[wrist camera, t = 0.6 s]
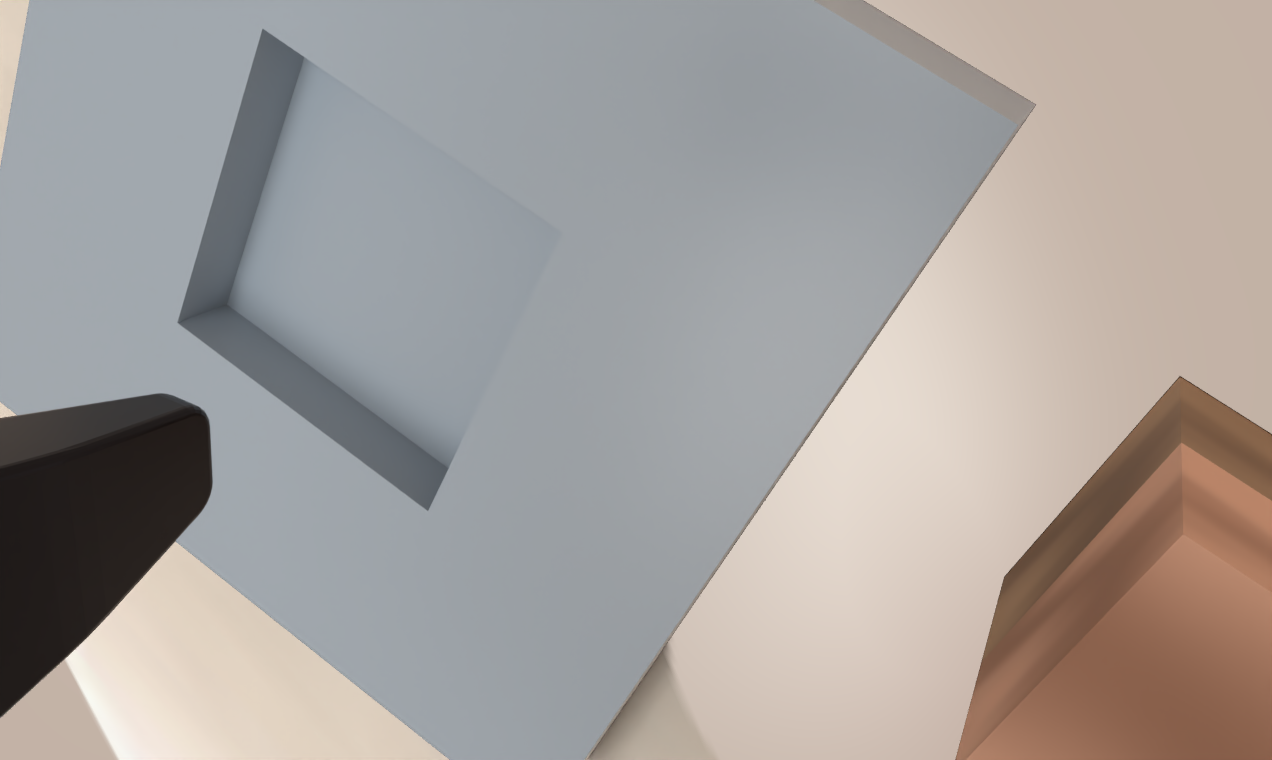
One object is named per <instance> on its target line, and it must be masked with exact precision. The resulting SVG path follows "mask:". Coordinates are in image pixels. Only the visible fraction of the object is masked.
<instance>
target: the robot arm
mask: <svg viewBox="0 0 1272 760" xmlns="http://www.w3.org/2000/svg"><path fill="white" fill-rule="evenodd" d="M212 487H213V475H212V454H211V433H210V422H209V418H208V416H207V414H206V413H205V411H204V410H203V409H201V408H200V407H199V406H197V405H194V404H192V403H190V402H187V401H185V400H183V399H180V398H178V397H175V396H173V395H169V394H165V393H157V394H150V395H143V396H137V397H131V398H124V399H118V400H112V401H105V402H99V403H93V404H86V405H80V406H74V407H67V408H61V409H55V410H48V411H42V412H36V413H29V414H23V415H17V416H11V417H4V418H0V718H1V717H2V716H3V715H4V714H5V713H6V712H8V711H9V710H10V709H11V708H12V707H13V706H14V705H15V704H16V703H17V702H19V701H20V700H21V699H22V698H23V697H24V696H25V695H26V694H27V693H28V692H29V691H30V690H31V689H33V688H34V687H35V686H36V685H37V684H38V683H39V682H40V681H41V680H42V679H44V678H45V677H46V676H47V675H48V674H49V673H50V672H51V671H52V670H53V669H54V668H56V667H57V666H58V665H59V664H60V663H61V662H62V661H63V660H64V659H65V658H67V657H68V656H69V655H70V654H71V653H72V652H73V651H74V650H75V649H76V648H77V647H78V646H79V645H80V644H81V643H82V642H83V641H84V640H85V639H86V638H87V637H88V636H89V635H90V634H91V633H92V632H93V631H94V630H95V629H96V628H97V627H98V626H99V625H100V624H101V623H102V622H103V620H104V619H105V618H106V617H107V616H108V615H109V614H110V613H111V612H112V611H113V610H114V609H115V607H116V606H117V605H118V604H119V603H120V602H121V601H122V600H123V599H124V597H125V596H126V595H127V594H128V593H129V592H130V591H131V590H132V589H133V587H134V586H135V585H136V584H137V583H138V582H139V581H140V580H141V579H142V578H143V576H144V575H145V574H146V573H147V572H148V571H149V570H150V569H151V568H152V566H153V565H154V564H155V563H156V562H157V561H158V560H159V559H160V558H161V556H162V555H163V554H164V553H165V552H166V551H167V550H168V549H169V548H170V546H171V545H172V544H173V543H174V542H175V541H176V540H177V539H178V538H179V536H180V535H181V534H182V533H183V532H184V531H185V530H186V529H187V528H188V527H189V525H190V524H191V523H192V522H193V521H194V520H195V519H196V518H197V517H198V515H199V514H200V513H201V512H202V510H203V509H204V507H205V506H206V504H207V502H208V500H209V498H210V495H211V491H212Z"/></svg>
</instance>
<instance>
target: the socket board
mask: <svg viewBox="0 0 1272 760" xmlns="http://www.w3.org/2000/svg"><path fill="white" fill-rule="evenodd" d="M1035 106H1036V104H1034V103H1032V102H1031V101H1029V100H1027V99H1026V98H1024V97H1022V96H1021V95H1019V94H1017V93H1016V92H1014V91H1013V90H1011V89H1009V88H1008V87H1006V86H1004V85H1003V84H1001V83H999V82H998V81H996V80H994V79H993V78H991V77H989V76H988V75H986V74H984V73H983V72H981V71H979V70H978V69H976V68H974V67H973V66H971V65H970V64H968V63H966V62H965V61H963V60H961V59H959V58H958V57H956V56H955V55H953V54H951V53H950V52H948V51H946V50H945V49H943V48H941V47H940V46H938V45H936V44H935V43H933V42H931V41H930V40H928V39H926V38H925V37H923V36H921V35H920V34H918V33H916V32H915V31H913V30H911V29H910V28H908V27H907V26H905V25H903V24H901V23H900V22H898V21H897V20H895V19H893V18H892V17H890V16H888V15H886V14H885V13H883V12H882V11H880V10H878V9H877V8H875V7H873V6H872V5H870V4H868V3H867V2H865V1H863V0H30V1H29V6H28V12H27V18H26V23H25V29H24V35H23V41H22V46H21V52H20V58H19V63H18V69H17V75H16V80H15V86H14V92H13V98H12V103H11V109H10V115H9V120H8V126H7V132H6V137H5V143H4V149H3V155H2V160H1V166H0V402H1V403H2V404H4V405H5V406H6V407H7V408H9V409H10V410H11V411H13V412H14V413H15V414H16V415H23V414H29V413H36V412H42V411H48V410H55V409H61V408H67V407H74V406H80V405H86V404H93V403H99V402H105V401H112V400H118V399H124V398H131V397H137V396H143V395H150V394H157V393H165V394H169V395H173V396H175V397H178V398H180V399H183V400H185V401H187V402H190V403H192V404H194V405H197V406H199V407H200V408H201V409H203V410H204V411H205V413H206V414H207V416H208V418H209V422H210V433H211V454H212V475H213V487H212V491H211V495H210V498H209V500H208V502H207V504H206V506H205V507H204V509H203V510H202V512H201V513H200V514H199V515H198V517H197V518H196V519H195V520H194V521H193V522H192V523H191V524H190V525H189V527H188V528H187V529H186V530H185V531H184V532H183V533H182V534H181V535H180V536H179V538H178V539H177V540H176V542H177V543H178V544H179V545H181V546H182V547H183V548H184V549H186V550H187V551H188V552H189V553H191V554H192V555H193V556H195V557H196V558H197V559H198V560H200V561H201V562H202V563H203V564H205V565H206V566H207V567H208V568H210V569H211V570H212V571H213V572H215V573H216V574H217V575H218V576H220V577H221V578H222V579H223V580H225V581H226V582H227V583H228V584H230V585H231V586H232V587H233V588H235V589H236V590H237V591H238V592H240V593H241V594H242V595H243V596H245V597H246V598H247V599H248V600H250V601H251V602H252V603H254V604H255V605H256V606H257V607H259V608H260V609H261V610H262V611H264V612H265V613H266V614H267V615H269V616H270V617H271V618H272V619H274V620H275V621H276V622H277V623H279V624H280V625H281V626H282V627H284V628H285V629H286V630H287V631H289V632H290V633H291V634H292V635H294V636H295V637H296V638H297V639H299V640H300V641H301V642H302V643H304V644H305V645H306V646H307V647H309V648H310V649H311V650H313V651H314V652H315V653H316V654H318V655H319V656H320V657H321V658H323V659H324V660H325V661H326V662H328V663H329V664H330V665H331V666H333V667H334V668H335V669H336V670H338V671H339V672H340V673H341V674H343V675H344V676H345V677H346V678H348V679H349V680H350V681H351V682H353V683H354V684H355V685H356V686H358V687H359V688H360V689H361V690H363V691H364V692H365V693H366V694H368V695H369V696H370V697H372V698H373V699H374V700H375V701H377V702H378V703H379V704H380V705H382V706H383V707H384V708H385V709H387V710H388V711H389V712H390V713H392V714H393V715H394V716H395V717H397V718H398V719H399V720H400V721H402V722H403V723H404V724H405V725H407V726H408V727H409V728H410V729H412V730H413V731H414V732H415V733H417V734H418V735H419V736H420V737H422V738H423V739H424V740H425V741H427V742H428V743H429V744H431V745H432V746H433V747H434V748H436V749H437V750H438V751H439V752H441V753H442V754H443V755H444V756H446V757H447V758H448V759H449V760H587V759H588V758H589V756H590V755H591V753H592V752H593V750H594V749H595V748H596V746H597V745H598V743H599V742H600V740H601V739H602V737H603V736H604V734H605V733H606V732H607V730H608V729H609V727H610V726H611V724H612V723H613V721H614V720H615V718H616V717H617V715H618V714H619V713H620V711H621V710H622V708H623V707H624V705H625V704H626V702H627V701H628V699H629V698H630V696H631V695H632V694H633V692H634V691H635V689H636V688H637V686H638V685H639V683H640V682H641V680H642V679H643V678H644V676H645V675H646V673H647V672H648V670H649V669H650V667H651V666H652V664H653V663H654V661H655V660H656V659H657V657H658V656H659V654H660V653H661V651H662V650H663V648H664V647H665V645H666V644H667V643H668V641H669V640H670V638H671V637H672V635H673V634H674V632H675V631H676V629H677V628H678V626H679V625H680V624H681V622H682V620H683V619H684V618H685V616H686V615H687V613H688V612H689V610H690V609H691V607H692V606H693V605H694V603H695V602H696V600H697V599H698V597H699V595H700V594H701V593H702V591H703V590H704V589H705V587H706V586H707V584H708V583H709V581H710V580H711V578H712V577H713V575H714V574H715V572H716V571H717V570H718V568H719V567H720V565H721V564H722V562H723V561H724V559H725V558H726V556H727V555H728V554H729V552H730V551H731V549H732V548H733V546H734V545H735V543H736V542H737V540H738V539H739V537H740V536H741V535H742V533H743V532H744V530H745V529H746V527H747V526H748V524H749V523H750V521H751V520H752V518H753V517H754V515H755V514H756V513H757V511H758V510H759V508H760V507H761V505H762V504H763V502H764V501H765V500H766V498H767V496H768V495H769V494H770V492H771V491H772V489H773V488H774V486H775V485H776V483H777V482H778V480H779V479H780V477H781V476H782V475H783V473H784V472H785V470H786V469H787V467H788V466H789V465H790V463H791V462H792V460H793V459H794V457H795V456H796V454H797V453H798V451H799V450H800V448H801V447H802V446H803V444H804V443H805V441H806V440H807V438H808V437H809V435H810V434H811V432H812V431H813V429H814V428H815V427H816V425H817V424H818V422H819V421H820V419H821V418H822V416H823V415H824V413H825V412H826V410H827V409H828V408H829V406H830V405H831V403H832V402H833V400H834V399H835V397H836V396H837V394H838V393H839V391H840V390H841V389H842V387H843V386H844V384H845V383H846V381H847V380H848V378H849V377H850V375H851V374H852V372H853V371H854V370H855V368H856V367H857V365H858V364H859V362H860V361H861V359H862V358H863V357H864V355H865V353H866V352H867V350H868V349H869V348H870V346H871V345H872V343H873V342H874V340H875V339H876V337H877V336H878V335H879V333H880V332H881V330H882V329H883V327H884V326H885V324H886V323H887V321H888V320H889V319H890V317H891V315H892V314H893V313H894V311H895V310H896V308H897V307H898V305H899V304H900V302H901V301H902V300H903V298H904V297H905V295H906V294H907V292H908V291H909V289H910V288H911V287H912V285H913V284H914V282H915V281H916V279H917V278H918V276H919V275H920V273H921V272H922V270H923V269H924V268H925V266H926V265H927V263H928V262H929V260H930V259H931V257H932V256H933V254H934V253H935V251H936V250H937V249H938V247H939V245H940V244H941V243H942V241H943V240H944V238H945V237H946V235H947V234H948V232H949V231H950V230H951V228H952V227H953V225H954V224H955V222H956V221H957V219H958V218H959V216H960V215H961V213H962V212H963V211H964V209H965V208H966V206H967V205H968V203H969V202H970V200H971V199H972V197H973V196H974V194H975V193H976V192H977V190H978V189H979V187H980V186H981V184H982V183H983V181H984V180H985V179H986V177H987V175H988V174H989V173H990V171H991V170H992V168H993V167H994V165H995V164H996V162H997V161H998V160H999V158H1000V157H1001V155H1002V154H1003V152H1004V151H1005V149H1006V148H1007V146H1008V145H1009V144H1010V142H1011V141H1012V139H1013V138H1014V136H1015V134H1016V133H1017V132H1018V130H1019V129H1020V127H1021V126H1022V125H1023V123H1024V122H1025V120H1026V119H1027V117H1028V116H1029V114H1030V113H1031V111H1032V110H1033V108H1034V107H1035Z"/></svg>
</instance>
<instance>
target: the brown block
mask: <svg viewBox="0 0 1272 760" xmlns="http://www.w3.org/2000/svg"><path fill="white" fill-rule="evenodd" d="M956 760H1272V434H1271V433H1269V432H1268V431H1266V430H1265V429H1263V428H1262V427H1260V426H1258V425H1257V424H1255V423H1254V422H1252V421H1250V420H1249V419H1247V418H1246V417H1244V416H1243V415H1241V414H1240V413H1238V412H1236V411H1235V410H1233V409H1232V408H1230V407H1228V406H1227V405H1225V404H1224V403H1222V402H1220V401H1219V400H1217V399H1216V398H1214V397H1213V396H1211V395H1209V394H1208V393H1206V392H1205V391H1203V390H1202V389H1200V388H1199V387H1197V386H1195V385H1194V384H1192V383H1191V382H1189V381H1187V380H1186V379H1184V378H1183V377H1181V376H1179V377H1178V379H1177V380H1176V381H1175V382H1174V383H1173V384H1172V386H1171V387H1170V388H1169V389H1168V390H1167V391H1166V392H1165V394H1164V395H1163V396H1162V397H1161V398H1160V399H1159V400H1158V401H1157V403H1156V404H1155V405H1154V406H1153V407H1152V409H1151V410H1150V411H1149V412H1148V413H1147V414H1146V415H1145V416H1144V417H1143V419H1142V420H1141V421H1140V422H1139V423H1138V425H1136V427H1135V428H1134V429H1133V430H1132V431H1131V432H1130V433H1129V435H1128V436H1127V437H1126V438H1125V439H1124V440H1123V441H1122V443H1121V444H1120V445H1119V446H1118V447H1117V448H1116V450H1115V451H1114V452H1113V453H1112V454H1111V455H1110V456H1109V458H1108V459H1107V460H1106V461H1105V462H1104V463H1103V464H1102V465H1101V467H1100V468H1099V469H1098V470H1097V471H1096V472H1095V473H1094V475H1093V476H1092V477H1091V478H1090V479H1089V480H1088V481H1087V483H1086V484H1085V485H1084V486H1083V487H1082V489H1080V491H1079V492H1078V493H1077V494H1076V495H1075V496H1074V497H1073V499H1072V500H1071V501H1070V502H1069V503H1068V504H1067V505H1066V507H1065V508H1064V509H1063V510H1062V511H1061V512H1060V513H1059V515H1058V516H1057V517H1056V518H1055V519H1054V520H1053V521H1052V523H1051V524H1050V525H1049V526H1048V527H1047V528H1046V529H1045V531H1044V532H1043V533H1042V534H1041V535H1040V537H1038V539H1037V540H1036V541H1035V542H1034V543H1033V544H1032V545H1031V547H1030V548H1029V549H1028V550H1027V551H1026V552H1025V553H1024V555H1023V556H1022V557H1021V558H1020V559H1019V560H1018V561H1017V563H1016V564H1015V565H1014V566H1013V567H1012V568H1011V569H1010V571H1009V572H1008V573H1007V574H1006V575H1005V576H1004V580H1003V584H1002V587H1001V591H1000V595H999V598H998V603H997V606H996V610H995V613H994V617H993V621H992V625H991V628H990V632H989V636H988V640H987V643H986V647H985V651H984V655H983V659H982V662H981V666H980V670H979V674H978V677H977V681H976V685H975V689H974V692H973V696H972V699H971V703H970V707H969V711H968V714H967V718H966V722H965V726H964V729H963V733H962V737H961V741H960V744H959V749H958V752H957V756H956Z"/></svg>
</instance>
